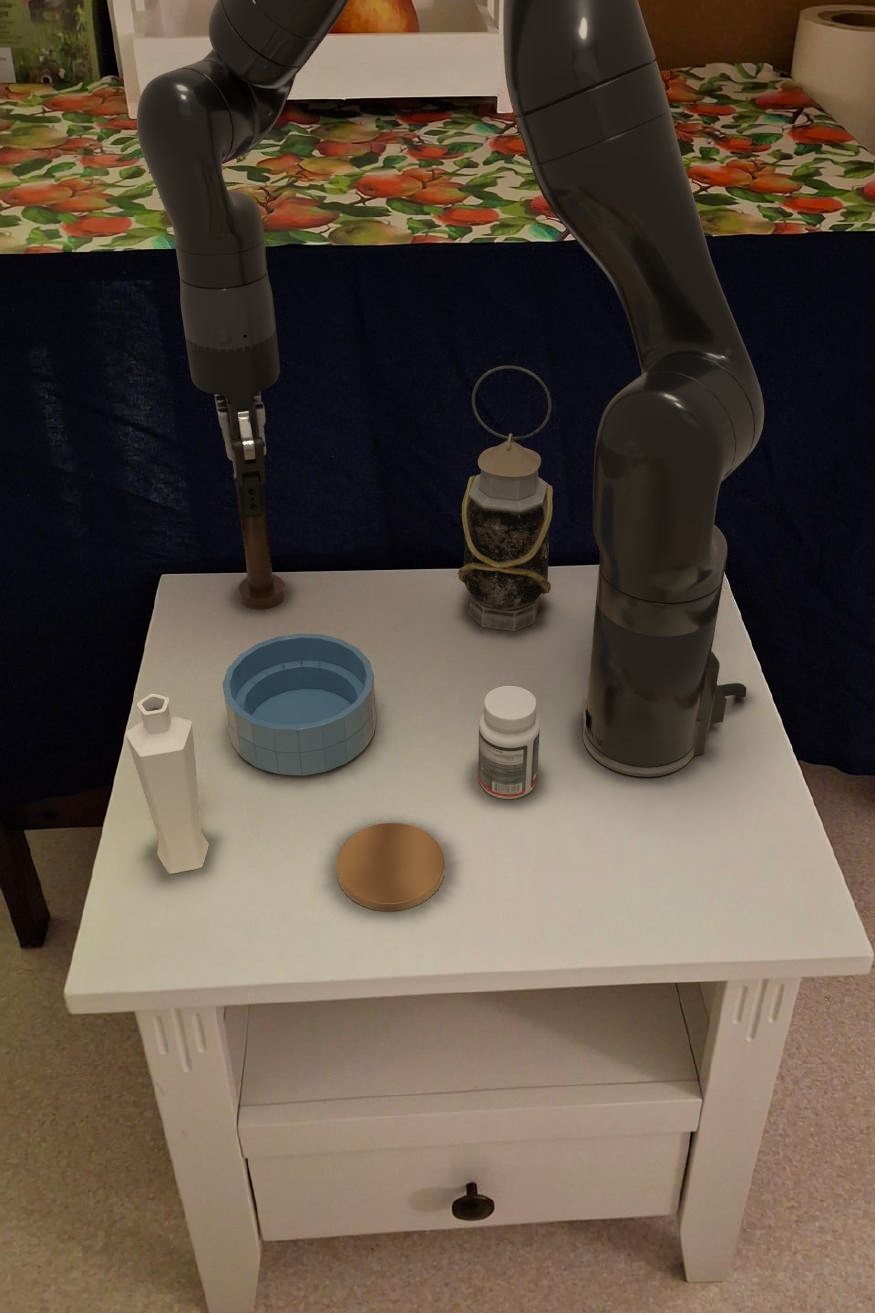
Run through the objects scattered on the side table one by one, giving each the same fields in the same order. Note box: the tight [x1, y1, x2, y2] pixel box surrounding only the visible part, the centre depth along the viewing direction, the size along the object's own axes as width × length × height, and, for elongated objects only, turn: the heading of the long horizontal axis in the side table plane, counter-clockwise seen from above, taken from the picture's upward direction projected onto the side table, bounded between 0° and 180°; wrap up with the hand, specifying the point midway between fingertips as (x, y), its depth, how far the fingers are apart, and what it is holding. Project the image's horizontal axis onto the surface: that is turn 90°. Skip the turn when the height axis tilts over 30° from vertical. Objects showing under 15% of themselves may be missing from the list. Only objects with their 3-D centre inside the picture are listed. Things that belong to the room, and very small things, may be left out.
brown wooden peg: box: [232, 461, 286, 610], centre depth 113 cm, size 4×4×15 cm
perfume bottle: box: [124, 693, 210, 874], centre depth 87 cm, size 5×4×15 cm
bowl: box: [222, 632, 377, 776], centre depth 101 cm, size 12×12×6 cm
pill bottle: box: [477, 685, 541, 800], centre depth 95 cm, size 5×5×8 cm
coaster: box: [335, 822, 446, 912], centre depth 90 cm, size 8×8×1 cm
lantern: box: [457, 365, 554, 632], centre depth 108 cm, size 9×8×25 cm
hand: (251, 504), depth 112 cm, fingers closed
